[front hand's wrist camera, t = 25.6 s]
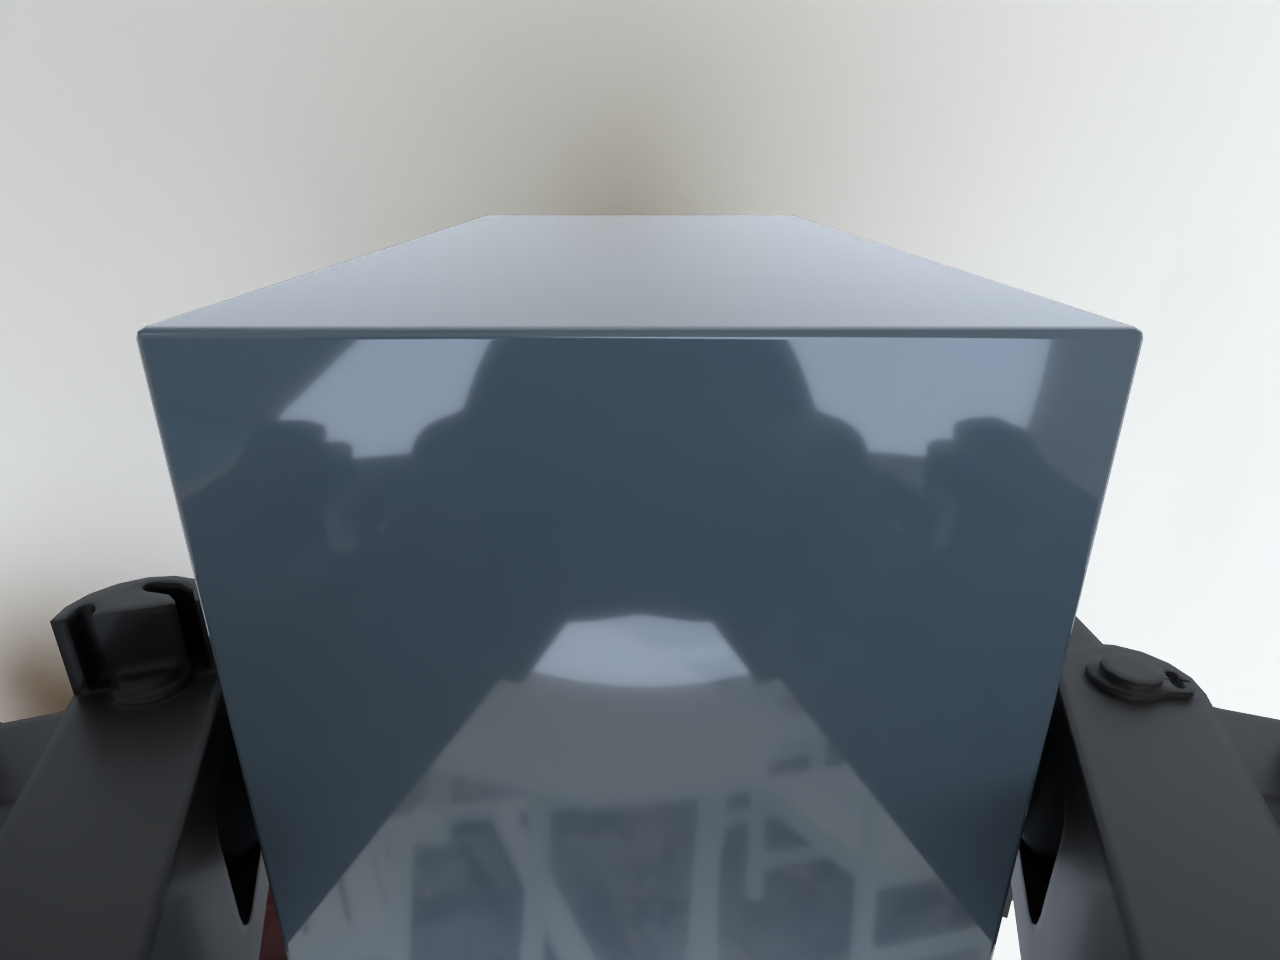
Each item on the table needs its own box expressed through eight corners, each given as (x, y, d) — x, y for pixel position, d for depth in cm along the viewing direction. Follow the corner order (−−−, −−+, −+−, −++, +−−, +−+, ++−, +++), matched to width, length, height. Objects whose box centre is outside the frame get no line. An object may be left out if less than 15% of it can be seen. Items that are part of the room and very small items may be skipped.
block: (767, 609, 19) (936, 1199, 8) (512, 609, 19) (342, 1200, 8) (794, 214, 15) (1150, 327, 5) (484, 214, 15) (129, 329, 5)
